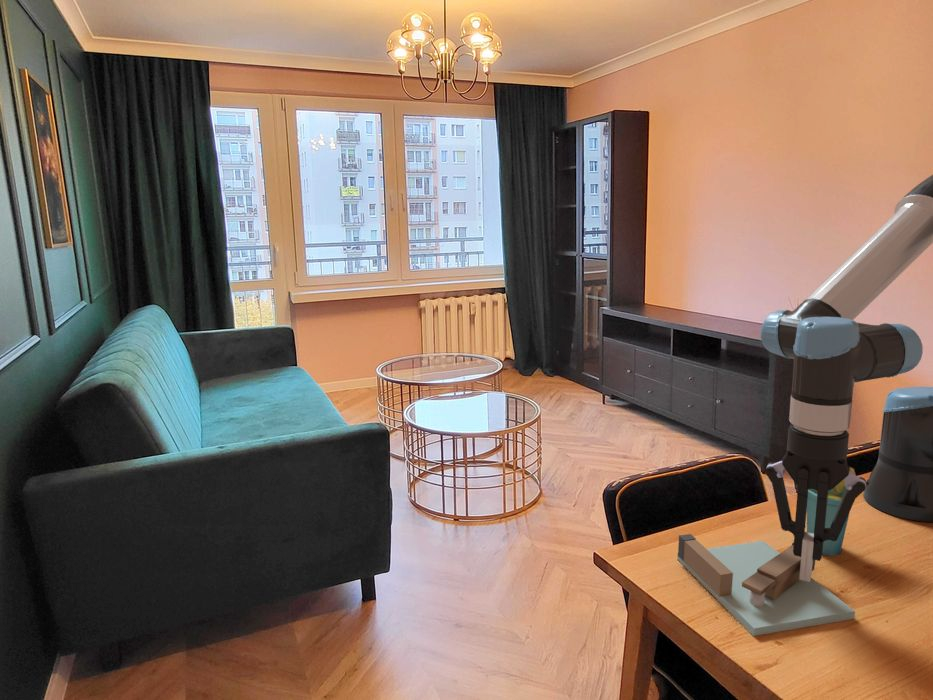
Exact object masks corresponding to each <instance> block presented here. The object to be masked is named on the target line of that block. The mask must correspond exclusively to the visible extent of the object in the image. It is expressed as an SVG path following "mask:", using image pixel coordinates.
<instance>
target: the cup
mask: <svg viewBox="0 0 933 700" xmlns="http://www.w3.org/2000/svg"><path fill="white" fill-rule="evenodd" d="M849 467H850V472H852V473H853V474H854V475H856V472H855V468H853V467H851V466H849ZM856 476H857V475H856ZM845 483H846V479H843V480H842V481H841V482H840V483H839V484H838V485H836V486H835V487H834V488H833V489H831V490H829V491H828V500H827V510H826V521H825V528H830V526H831V524H832V522H833V519H834V517H835V515H836V512H837V510H838V508H839V505H840V503H841V501H842V498H843V496H844V494H845V491H846V488H845ZM817 492H818V491H817V490H814V489H808V500H807V512H806V532H809V533H813V534H814V528H815V517H816V505H817ZM849 516H850V512H849V514H848V517H847V519H846V521H845V524H844V526H843V528H842V530H841V533H840V535H839V537H838V539H837V540H836V541H831V540H826V541H824V542H823V552H822V555H825V556H830V557H831V556H835V555H841V551H842V547H843V544H844V543H843V542H844V539H845V534H846V529H847V525H848V520H849Z"/></svg>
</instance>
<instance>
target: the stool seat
mask: <svg viewBox="0 0 933 700" xmlns="http://www.w3.org/2000/svg"><path fill="white" fill-rule="evenodd" d="M677 548H678V549H677V550H678V551H677V559H676V560H677V561H679V563H680V564H681V565H682V566H684V567H685V568H686V570H687V571H688V572H689V573H690V574H691V575H692V576H693V577H694V578H696V580H697V581H698V582H699V583H700V584H701V585H702V586H703V587H704V588H705V589H706V590H707V591H708V592H709V593H710V594H712V596H713V597H714V598H715V599H716V600H717V601H718V602H719V603H720V604H721V606H722V607H724V608H725V609H726V610H727V611H728V612H729V613H730V614H731V615H732V617H734V618H735V619H736V620H737V621H738V623H740V624H741V626H743V628H744V629H746V630H747V631H748V632H749V633H750V634H751V636H753V637H757V636H762V635H767V634H775V633H779V632H786V631H792V630H797V629H803V628H808V627H813V626H819V625H826V624H831V623H838V622H842V621H843V622H844V621H849V620H854V619H855V615H856V610H854V609H853V608H852V607H851V606H849V605H848V604H846V602H844V601H842V600H841V598H839V597H838V596H836V595H835V594H834V593H832V592H831V591H829V590H828V589H827V588H826V587H824V586H823V585H822V584H821V583H819V582H818V581H817V580H815V579H814V578H812V577H811V580H810V582H807V581H803V580H799V581H798V582H796V583H795V584H794V585H792V586H791V587H790V588H788V589H787V590H786V591H784V592H783V593H782V594H780V595H779V596H778V597H776V598H775V599H772V598H770V597H768V596H766V595H765V592H764V593H763V594H762V595H759V594H757V593H755V592H752V591H750V590H748V589H746V588H744V587H742V582H743V581H744V580H746V579H747V578H749V577H750V576H752V575H753V574H755V573H756V572H757V569H758V568H759V567H761V566H762V565H764V564H765V563H767V562H768V561H769V560H771V559H772V558H774V557H775V556H777V555H778V554H780V553H781V552H778V551H777V550H776V549H775V548H774V547H772V546H771V545H769V544H768V543H766V541H764V540H758V541H757V540H756V541H750V542H745V543H744V542H743V543H737V544H730V545H724V546H717V547H716V546H715V547H708V548H706V547H705V546H704V545H703V544H701V542H699V541H698V540H697V539H696V537H695V536H694V535H693V534H692V533H687V534H681V535H678V546H677Z"/></svg>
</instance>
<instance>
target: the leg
mask: <svg viewBox="0 0 933 700" xmlns="http://www.w3.org/2000/svg"><path fill="white" fill-rule="evenodd" d="M793 547H794V541H793V542H792V543H791V545H790V546H789V547H787V548H786V549H784V550H783V551H781V552H779V553H780V554H778V555H777V556H775V557H774V558H772V559H771V560H769V561H768V562H767V563H765V564H764V565H762V566H761V567H759V568H758V569H757V572H756V573H755V574H753V575H752V576H750V577H749V578H747V579H746V580H744V581H743V582H742V587H744V588H746V589H748V590H750V591H752V592H755V593H757V594H759V595H762V594H763V593H764V592H765V595H766V596H768V597H770V598H772V599H775V598H776V597H778V596H779V595H780V594H782V593H783V592H784V591H786V590H787V589H788V588H790V587H791V586H792V585H794V584H795V583H796V582H798V581H799V578H800V566H801V557H799V556H795V555H794V553H793ZM815 566H816V560H813V565H812V572H813V571H815Z"/></svg>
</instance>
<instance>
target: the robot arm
mask: <svg viewBox="0 0 933 700" xmlns="http://www.w3.org/2000/svg"><path fill="white" fill-rule="evenodd" d="M893 212H894V213H893V215H892V216H891V217H890V218H888V220H887V221H885V223H884V224H883V225H881V226H880V227H879V229H877V230H876V231H875V232H874V233H873V234H872V235H871V236H870V237H869V238H868V239H867V240H866V241H865V242H864V243H863V244H862V245H861V246H859V247H858V248H857V249H856V250H855V251H854V252H853V253H852V254H851V255H850V256H849V257H848V258H847V259H846V260H845V261H844V262H843V263H842V264H840V266H838V267H837V269H835V270H834V271H833V273H831V274H830V275H829V276H828V277H827V278H826V279H825V280H824V281H823V282H822V283H821V284H820V285H818V287H817V288H815V290H813V292H811V293H810V294H809V295H808V296H807V297H806V298H805V299H804V300H803V301H802V302H801V303H799V304H798V306H797V307H796V308H795V309H794V310H789V309H785V310H783V309H782V310H781V309H779V310H776V311H773V312H771V313H770V314H768V315H767V316H766V318H765V319H764V320H763V323H762V325H761V328H760V340H761V343H762V346H763V347H764V348H765V350H767V351H768V352H769V353H773V354H775V355H778V356H780V357H783V358H785V359H789V360H791V359H792V360H793V369H792V383H791V394H790V403H789V416H788V420H789V422H790V424H789V425H788V427H787V429H788V432H787V441H786V442H787V444H786V453H785V454H784V455H783V456H782V459H781V460H780V461H777V462H769V463H768V464H767V466H766V468H765V470H764V473H765V475H766V476H767V477H768V479H769V482H770V483H771V485H772V490H773V495H774V500H775V503H776V505H775V506H776V508H777V512H778V517H779V522H780V529H782V531H784V532H789V533H792V535H793V537H794V538H793V542H794V547H793V553H794V555H795V556H799V557H801V566H800V578H799V580H803V581H807V582H810V580H811V578H812V573H813V571H812V565H813V560H815V561H817V562H820V561H821V560H822V558H823V554H822V552H823V542H824V541H826V540H831V541H836V540H837V539H838V537H839V535H840V533H841V530H842V528H843V526H844V524H845V521H846V519H847V517H848V514H849V515H850V513H849V512H850V511H851V510H852V507H853V505H854V503H855V501H856V499H857V498H858V497H859V496H860V495H861V494H862V493H863V494H862V495H863V499H864V500H865V501H866V502H867V503H868V504H869V505H871V506H872V507H873V508H875V509H878V510H879V511H882V512H884V513H886V514H889V515H891V516H894V517H898V518H902V519H905V520H906V519H907V520H912V521H918V522H923V523H933V386H905V387H898V388H896V389H893V390H892V389H891V391H889V392H888V394H886V399H885V402H884V407H883V410H882V412H883V414H882V423H881V432H880V441H879V451H878V457H877V458H878V459H877V461H876V463H875V465H874V467H873V469H872V471H871V473H870V475H869V476H868V479H865V478H864V477H861V476H859V477H858V476H857V475H854V474H853V473H852V472H850V467H851V466H850V465H849V463H848V460H847V457H848V448H849V441H850V440H849V438H850V433H849V432H848V430H849V429H850V424H851V417H852V415H851V414H852V407H853V394H854V386H855V383H860V382H863V381H871V380H876V379H878V380H879V379H882V378H888V379H889V378H894V377H896V376H898V375H901V374H905V373H908V372H910V371H912V370H914V369H915V368H916V367H918V365H919V363H920V362H921V360H922V358H923V348H924V347H923V344H922V339H921V338H920V336H919V335H918V333H917V332H916V331H915V330H914V329H912V328H911V327H910V326H908V325H905V324H901V323H887V322H884V323H881V324H869V323H868V324H867V323H862V322H856V321H855V319H856V318H857V317H858V316H859V315H860V314H861V313H863V311H864V310H865V309H866V308H867V307H869V305H870V304H871V303H872V302H874V301H875V299H877V297H879V295H881V294H882V293H883V292H884V291H885V290H886V289H887V288H888V287H889V286H890V285H891V284H892V283H893V282H894V281H896V279H897V278H898V277H899V276H900V275H902V274H903V272H905V270H906V269H908V267H909V266H910V265H912V264H913V263H914V262H915V261H916V259H918V257H920V256H921V255H922V254H923V253H924V252H925V251H926V250H928V248H929V247H930V246H931V245H933V174H931V175H930V176H928V177H927V178H926V179H924V180H922V181H921V182H919V183H918V184H917V185H915V187H914V188H912V189H911V190H910V191H908V192H907V193H906V194H905V195H904V196H903V197H902V198H901V199H900V200H899V201H898V202H897V203H896V204H895V207H894V211H893ZM785 471H786V472H787V473H788V475H789V476H790V478H791V479H792V481H793V482H794V484H795V485H797V489H796V491H797V492H796V494H797V495H796V506H795V518H794V519H795V520H793V518H792V513H791V508H790V504H789V499H788V494H787V490H786V489H787V488H786V485H785V480H784V476H785ZM843 479H846V483H845V488H846V491H845V494H844V496H843V498H842V501H841V503H840V505H839V508H838V510H837V512H836V515H835V517H834V519H833V522H832V524H831V526H830V528H825V521H826V510H827V500H828V491H829V490H831V489H833V488H834V487H835V486H836V485H838V484H839V483H840V482H841V481H842V480H843ZM808 489H814V490H817V491H818V492H817V505H816V517H815V528H814V534H813V533H809V532H807V531H806V528H807V500H808ZM848 518H849V517H848Z"/></svg>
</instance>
